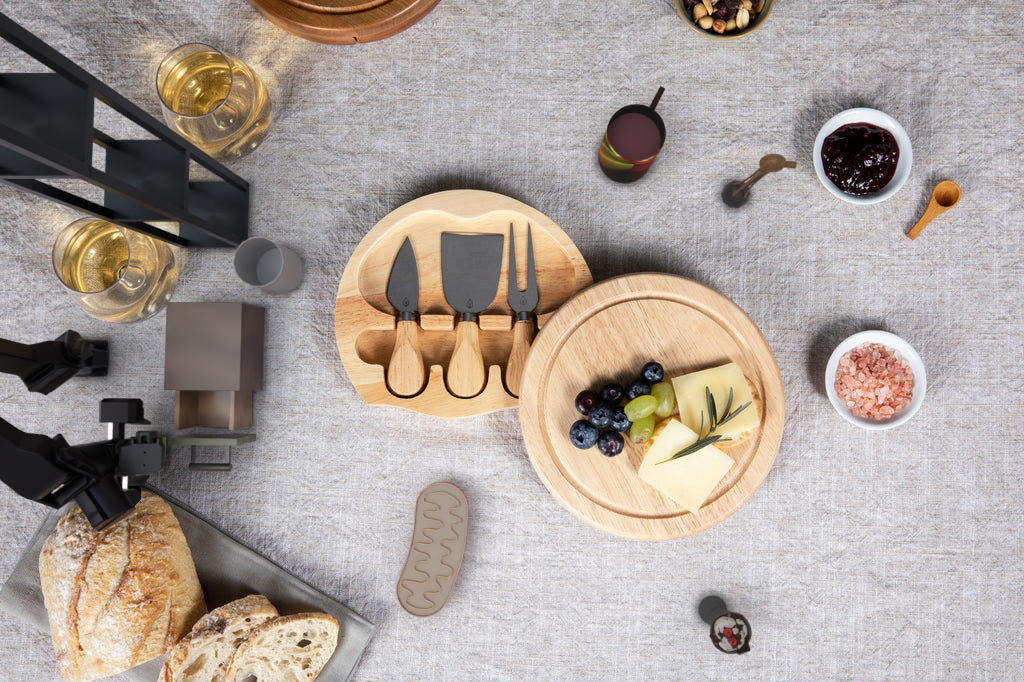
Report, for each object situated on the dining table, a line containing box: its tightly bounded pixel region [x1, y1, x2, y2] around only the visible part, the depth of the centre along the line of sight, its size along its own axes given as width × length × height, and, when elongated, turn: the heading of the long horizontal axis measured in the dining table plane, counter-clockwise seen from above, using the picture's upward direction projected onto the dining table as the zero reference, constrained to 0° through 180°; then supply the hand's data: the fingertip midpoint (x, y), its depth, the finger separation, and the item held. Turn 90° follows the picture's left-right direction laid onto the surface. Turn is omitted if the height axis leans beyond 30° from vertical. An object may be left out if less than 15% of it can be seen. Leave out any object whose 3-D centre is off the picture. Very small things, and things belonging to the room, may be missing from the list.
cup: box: [232, 236, 305, 295], centre depth 115 cm, size 8×8×10 cm
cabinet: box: [163, 301, 265, 391], centre depth 114 cm, size 15×13×10 cm
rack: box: [0, 11, 250, 250], centre depth 87 cm, size 12×12×66 cm
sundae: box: [698, 595, 753, 656], centre depth 108 cm, size 7×7×15 cm
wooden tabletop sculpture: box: [720, 153, 798, 209], centre depth 109 cm, size 6×5×20 cm
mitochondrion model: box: [395, 481, 469, 619], centre depth 114 cm, size 23×10×5 cm, turn 167°
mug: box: [597, 85, 667, 184], centre depth 114 cm, size 10×14×12 cm
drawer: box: [168, 390, 257, 473], centre depth 114 cm, size 18×11×8 cm, turn 0°
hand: (148, 449), depth 117 cm, fingers open, 9 cm apart
